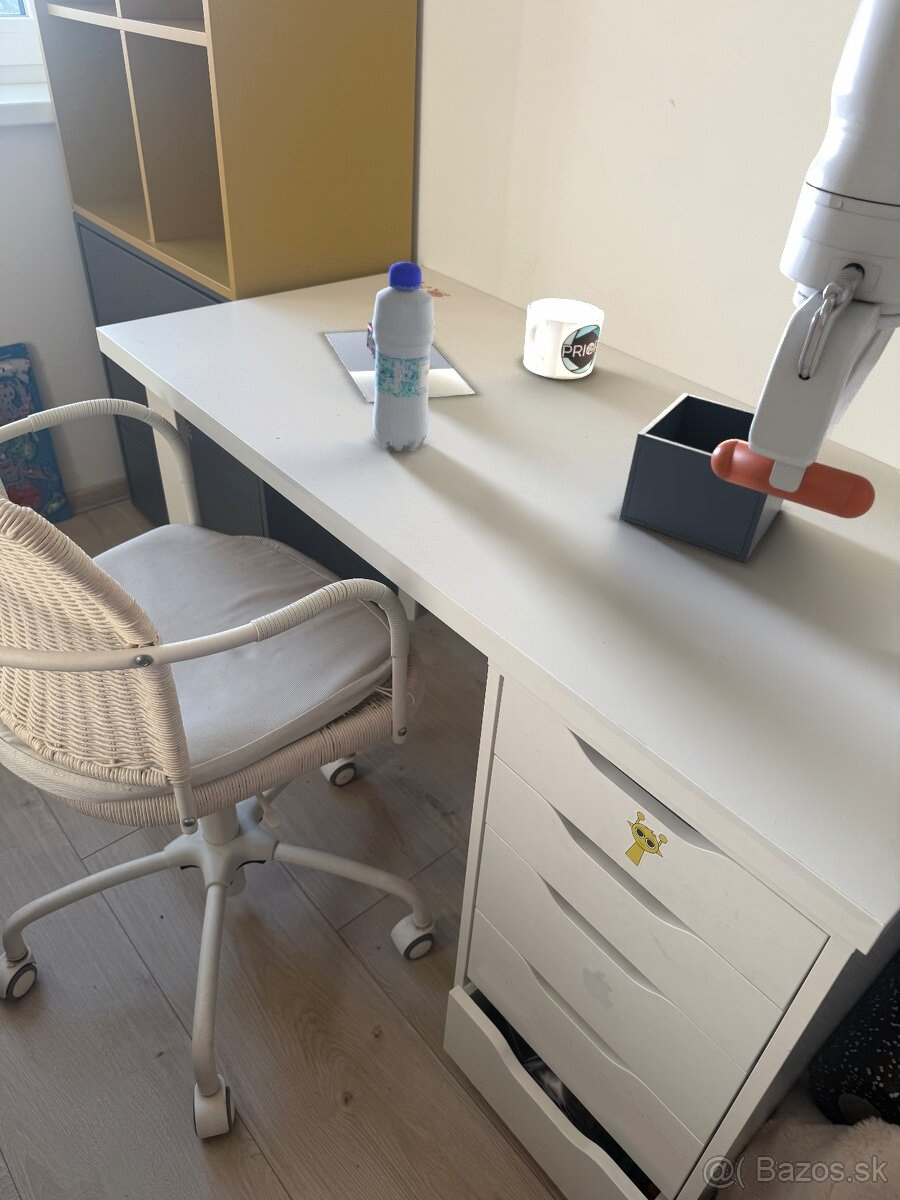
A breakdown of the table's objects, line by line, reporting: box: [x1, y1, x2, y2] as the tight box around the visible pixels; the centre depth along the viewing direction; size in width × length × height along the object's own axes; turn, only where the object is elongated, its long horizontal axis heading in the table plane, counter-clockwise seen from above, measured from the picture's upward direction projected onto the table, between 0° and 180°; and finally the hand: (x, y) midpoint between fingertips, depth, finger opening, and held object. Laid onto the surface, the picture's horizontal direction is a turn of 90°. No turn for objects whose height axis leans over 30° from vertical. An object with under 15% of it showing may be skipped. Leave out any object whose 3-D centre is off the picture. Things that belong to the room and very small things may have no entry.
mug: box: [523, 297, 605, 380], centre depth 115 cm, size 13×10×8 cm
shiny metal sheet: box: [324, 321, 476, 403], centre depth 115 cm, size 14×25×4 cm, turn 19°
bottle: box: [371, 261, 436, 452], centre depth 90 cm, size 7×7×20 cm
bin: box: [619, 392, 785, 563], centre depth 84 cm, size 13×13×10 cm
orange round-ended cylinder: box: [711, 439, 876, 520], centre depth 54 cm, size 10×3×3 cm, turn 58°
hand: (792, 473), depth 54 cm, fingers closed on orange round-ended cylinder, 3 cm apart
